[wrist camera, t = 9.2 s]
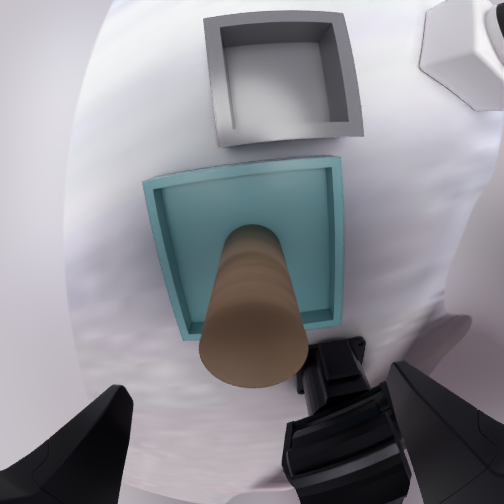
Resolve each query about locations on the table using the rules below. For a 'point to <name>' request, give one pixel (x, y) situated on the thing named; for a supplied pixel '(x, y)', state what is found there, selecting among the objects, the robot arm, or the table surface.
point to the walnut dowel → (253, 314)
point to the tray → (251, 212)
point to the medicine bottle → (467, 51)
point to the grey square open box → (282, 77)
